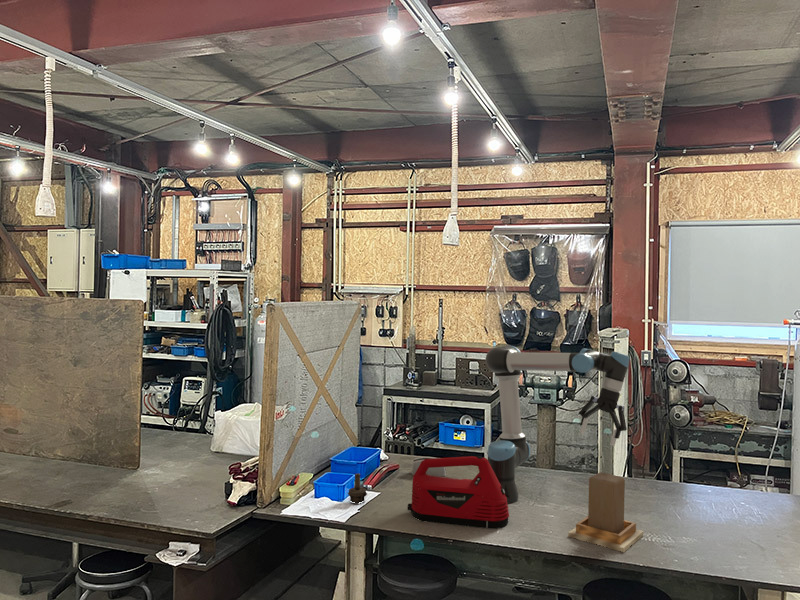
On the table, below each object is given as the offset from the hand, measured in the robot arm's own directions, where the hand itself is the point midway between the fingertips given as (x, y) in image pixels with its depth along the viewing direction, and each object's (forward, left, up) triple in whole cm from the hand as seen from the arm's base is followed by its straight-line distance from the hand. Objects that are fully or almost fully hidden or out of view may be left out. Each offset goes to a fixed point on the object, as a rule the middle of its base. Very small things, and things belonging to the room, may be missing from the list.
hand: (596, 439), depth 243 cm
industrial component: (-78, -61, -29) cm, 103 cm away
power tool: (-37, -46, -29) cm, 66 cm away
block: (+13, -23, -28) cm, 39 cm away
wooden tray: (+13, -23, -29) cm, 40 cm away
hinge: (-79, -9, -29) cm, 85 cm away
